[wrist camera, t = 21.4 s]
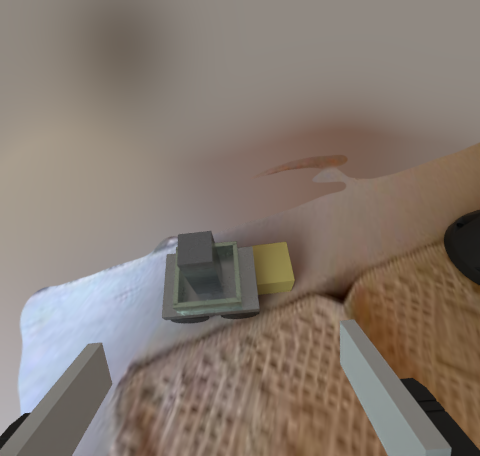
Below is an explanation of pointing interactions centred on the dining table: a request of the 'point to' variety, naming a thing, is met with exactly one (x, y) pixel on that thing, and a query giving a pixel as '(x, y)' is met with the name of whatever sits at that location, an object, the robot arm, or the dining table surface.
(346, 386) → the dining table surface
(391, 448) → the robot arm
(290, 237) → the dining table surface
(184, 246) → the pin
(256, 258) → the block
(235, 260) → the box
